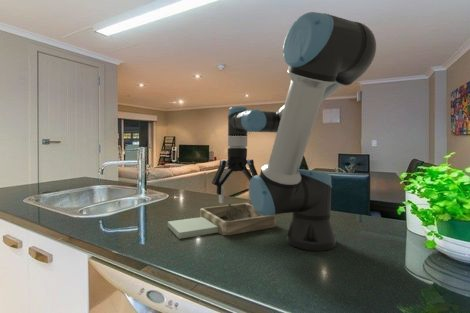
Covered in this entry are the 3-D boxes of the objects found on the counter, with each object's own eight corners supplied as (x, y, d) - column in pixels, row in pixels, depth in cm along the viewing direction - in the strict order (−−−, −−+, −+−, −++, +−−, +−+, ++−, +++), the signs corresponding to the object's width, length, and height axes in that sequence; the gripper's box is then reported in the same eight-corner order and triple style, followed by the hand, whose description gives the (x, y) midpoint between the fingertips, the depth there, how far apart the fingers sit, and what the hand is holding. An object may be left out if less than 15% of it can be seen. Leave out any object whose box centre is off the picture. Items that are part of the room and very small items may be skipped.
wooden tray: (276, 226, 104) (277, 214, 104) (223, 235, 93) (224, 222, 93) (246, 212, 123) (246, 202, 123) (199, 219, 113) (199, 208, 112)
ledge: (217, 232, 97) (217, 226, 96) (179, 238, 90) (179, 232, 90) (202, 221, 109) (202, 216, 109) (167, 226, 102) (167, 221, 102)
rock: (241, 227, 99) (225, 204, 102) (231, 236, 102) (216, 214, 105) (256, 219, 109) (241, 199, 112) (246, 228, 111) (232, 208, 114)
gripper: (258, 146, 116) (257, 196, 117) (203, 147, 104) (203, 202, 105) (269, 147, 109) (267, 200, 111) (212, 147, 97) (211, 206, 99)
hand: (236, 201), depth 108 cm, fingers open, 13 cm apart
